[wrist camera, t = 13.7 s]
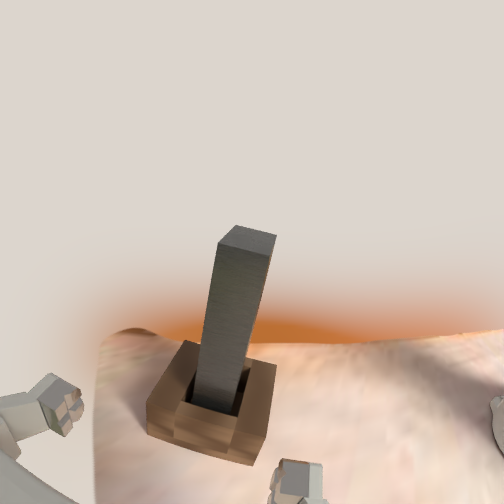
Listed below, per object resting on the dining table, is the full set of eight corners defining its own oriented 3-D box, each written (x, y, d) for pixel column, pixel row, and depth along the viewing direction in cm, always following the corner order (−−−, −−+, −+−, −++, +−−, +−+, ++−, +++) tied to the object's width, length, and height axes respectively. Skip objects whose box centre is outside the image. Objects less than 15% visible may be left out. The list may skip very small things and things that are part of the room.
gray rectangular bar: (235, 396, 27) (276, 234, 22) (223, 434, 22) (270, 256, 17) (204, 387, 27) (235, 224, 22) (189, 424, 22) (217, 242, 17)
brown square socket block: (265, 396, 29) (276, 365, 27) (252, 466, 20) (265, 437, 19) (181, 373, 29) (185, 339, 28) (147, 434, 21) (146, 401, 19)
